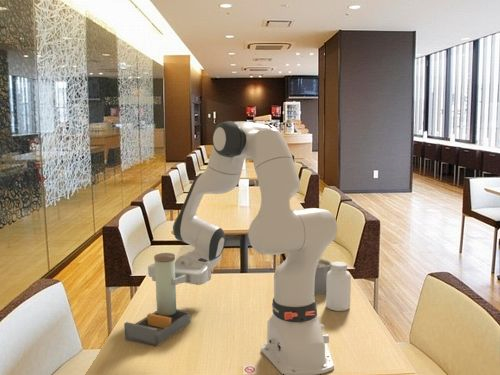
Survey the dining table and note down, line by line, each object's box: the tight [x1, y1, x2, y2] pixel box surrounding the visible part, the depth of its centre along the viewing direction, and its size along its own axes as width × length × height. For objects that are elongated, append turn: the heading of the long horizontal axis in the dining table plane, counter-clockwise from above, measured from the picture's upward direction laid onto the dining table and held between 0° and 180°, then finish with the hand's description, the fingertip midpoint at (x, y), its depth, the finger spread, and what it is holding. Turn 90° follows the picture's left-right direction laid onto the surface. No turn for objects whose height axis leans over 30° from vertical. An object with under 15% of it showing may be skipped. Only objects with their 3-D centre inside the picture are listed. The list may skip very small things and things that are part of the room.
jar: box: [153, 252, 177, 316], centre depth 159 cm, size 6×6×18 cm
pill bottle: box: [325, 261, 352, 312], centre depth 171 cm, size 8×8×15 cm
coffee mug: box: [314, 258, 332, 295], centre depth 188 cm, size 13×10×10 cm
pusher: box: [146, 313, 171, 328], centre depth 157 cm, size 1×8×3 cm, turn 64°
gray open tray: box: [123, 308, 191, 347], centre depth 156 cm, size 18×11×5 cm, turn 154°
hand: (163, 280), depth 158 cm, fingers closed on jar, 6 cm apart
